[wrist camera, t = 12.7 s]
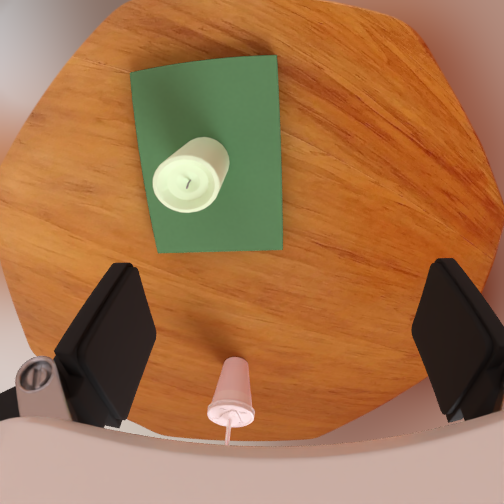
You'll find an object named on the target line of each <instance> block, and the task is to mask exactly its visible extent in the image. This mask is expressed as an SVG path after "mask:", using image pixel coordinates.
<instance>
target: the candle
mask: <svg viewBox="0 0 504 504" xmlns="http://www.w3.org/2000/svg"><path fill="white" fill-rule="evenodd" d="M228 169H229V156H228V153H227V151H226V149H225V148H224V146H223V145H222V144H221V143H219V142H218V141H217V140H214V139H212V138H208V137H199V138H195V139H193V140H191V141H189V142H188V143H187V144H185V145H184V146H183V147H181V148H180V149H179V150H178V151H176V152H175V153H174V154H172V155H171V156H170V157H169V158H167V159H166V160H165V161H164V162H163V163H161V164H160V165H159V167H158V168H157V169H156V171H155V173H154V176H153V189H154V193H155V195H156V196H157V198H158V200H159V201H160V202H161V203H162V204H163V205H165V206H166V207H168V208H170V209H172V210H174V211H178V212H184V213H191V212H197V211H200V210H202V209H205V208H206V207H208V206H209V205H210V204H211V203H212V202H213V201H214V200H215V199H216V197H217V195H218V193H219V190H220V188H221V186H222V183H223V181H224V179H225V176H226V174H227V172H228Z"/></svg>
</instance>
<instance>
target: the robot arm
mask: <svg viewBox="0 0 504 504" xmlns="http://www.w3.org/2000/svg"><path fill="white" fill-rule="evenodd" d="M412 336H413V339H414V341H415V343H416V346H417V348H418V351H419V353H420V356H421V358H422V361H423V363H424V366H425V368H426V371H427V374H428V376H429V379H430V381H431V384H432V387H433V389H434V392H435V395H436V398H437V401H438V404H439V407H440V410H441V412H442V413H443V414H444V415H445V414H446V417H447V420H448V422H453V421H457V420H461V419H462V418H463V417H464V420H465V421H464V422H460V423H456V424H452V425H448V426H444V427H439V428H435V429H431V430H426V431H421V432H417V433H412V434H407V435H401V436H396V437H389V438H382V439H375V440H369V441H359V442H351V443H340V444H329V445H313V446H287V447H286V446H285V447H284V446H283V447H262V446H261V447H260V446H232V445H215V444H203V443H193V442H184V441H176V440H168V439H161V438H154V437H148V436H143V435H137V434H131V433H125V432H120V431H114V430H110V429H105V428H104V426H105V425H106V426H111V427H115V428H120V425H121V422H122V420H126V419H127V417H128V414H129V411H130V408H131V405H132V403H133V400H134V397H135V394H136V391H137V388H138V386H139V383H140V380H141V377H142V375H143V372H144V369H145V366H146V364H147V361H148V358H149V356H150V353H151V350H152V348H153V345H154V342H155V340H156V328H155V325H154V322H153V319H152V316H151V313H150V309H149V306H148V303H147V299H146V296H145V293H144V289H143V286H142V282H141V278H140V275H139V271H138V269H137V268H136V267H133V265H132V264H131V263H113V264H112V265H111V267H110V268H109V270H108V271H107V272H106V274H105V275H104V276H103V278H102V279H101V281H100V282H99V283H98V285H97V286H96V288H95V289H94V291H93V292H92V293H91V295H90V296H89V298H88V299H87V301H86V302H85V304H84V305H83V307H82V308H81V310H80V311H79V313H78V314H77V316H76V317H75V319H74V320H73V322H72V323H71V325H70V326H69V328H68V329H67V331H66V332H65V334H64V336H63V337H62V339H61V340H60V342H59V344H58V345H57V347H56V348H55V350H54V352H55V354H56V356H55V358H54V359H53V360H52V359H51V358H50V357H47V356H37V357H34V358H31V359H30V360H28V361H26V362H25V363H24V364H23V365H22V366H21V368H20V369H19V370H18V373H17V375H16V382H15V384H16V386H15V387H13V388H11V389H9V390H7V391H5V392H2V393H0V504H504V326H503V325H502V323H501V322H500V320H499V319H498V317H497V316H496V314H495V313H494V312H493V310H492V309H491V307H490V306H489V304H488V303H487V302H486V300H485V299H484V297H483V296H482V294H481V293H480V292H479V290H478V289H477V288H476V286H475V285H474V284H473V282H472V281H471V280H470V278H469V277H468V276H467V274H466V273H465V272H464V271H463V269H462V268H461V267H460V266H459V264H458V263H457V262H456V261H455V260H454V259H453V258H438V259H436V261H435V263H432V264H431V266H430V269H429V273H428V276H427V280H426V283H425V287H424V290H423V293H422V297H421V300H420V303H419V306H418V309H417V312H416V315H415V318H414V321H413V324H412Z"/></svg>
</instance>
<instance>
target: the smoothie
mask: <svg viewBox="0 0 504 504" xmlns="http://www.w3.org/2000/svg"><path fill="white" fill-rule="evenodd" d="M254 414H255V412H254V409H253V408H252V401H251V392H250V381H249V370H248V363H247V361H246V360H244V359H242V358H239V357H230V358H228V359H226V360H225V362H224V365H223V368H222V371H221V374H220V378H219V381H218V384H217V387H216V390H215V394H214V396H213V400H212V403H211V404H210V405H209V406H208V412H207V415H208V417H209V419H210V420H211V421H213V422H214V423H216V424H219V425H222V426H226V427H227V429H226V438H225V445H229V441H230V431H231V427H243V426H246V425H248V424H250V423H251V422H252V421H253V420H254Z"/></svg>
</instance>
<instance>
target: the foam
mask: <svg viewBox="0 0 504 504" xmlns="http://www.w3.org/2000/svg"><path fill="white" fill-rule="evenodd" d="M130 80H131V91H132V100H133V109H134V118H135V126H136V133H137V141H138V148H139V154H140V161H141V167H142V173H143V179H144V185H145V191H146V197H147V202H148V207H149V213H150V218H151V223H152V228H153V233H154V237H155V242H156V247H157V251H158V253H184V252H221V251H258V250H283V213H282V167H281V135H280V109H279V86H278V66H277V55H260V56H242V57H229V58H218V59H208V60H200V61H192V62H185V63H178V64H172V65H166V66H160V67H155V68H150V69H145V70H140V71H135V72H131V73H130ZM199 137H208V138H212V139H214V140H217V141H218V142H219V143H221V144H222V145H223V146H224V148H225V149H226V151H227V153H228V156H229V169H228V172H227V174H226V176H225V179H224V181H223V183H222V186H221V188H220V190H219V193H218V195H217V197H216V199H215V200H214V201H213V202H212V203H211V204H210V205H209V206H208V207H206V208H205V209H202V210H200V211H197V212H191V213H184V212H178V211H174V210H172V209H170V208H168V207H166V206H165V205H163V204H162V203H161V202H160V201H159V200H158V198H157V196H156V195H155V193H154V189H153V176H154V173H155V171H156V169H157V168H158V167H159V165H160V164H161V163H163V162H164V161H165V160H166V159H167V158H169V157H170V156H171V155H172V154H174V153H175V152H176V151H178V150H179V149H180V148H181V147H183V146H184V145H185V144H187V143H188V142H189V141H191V140H193V139H195V138H199Z"/></svg>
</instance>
